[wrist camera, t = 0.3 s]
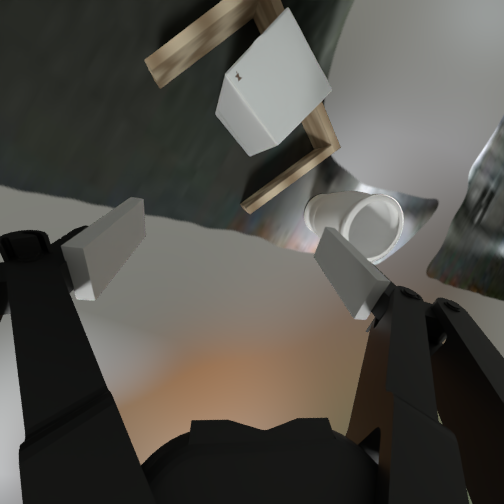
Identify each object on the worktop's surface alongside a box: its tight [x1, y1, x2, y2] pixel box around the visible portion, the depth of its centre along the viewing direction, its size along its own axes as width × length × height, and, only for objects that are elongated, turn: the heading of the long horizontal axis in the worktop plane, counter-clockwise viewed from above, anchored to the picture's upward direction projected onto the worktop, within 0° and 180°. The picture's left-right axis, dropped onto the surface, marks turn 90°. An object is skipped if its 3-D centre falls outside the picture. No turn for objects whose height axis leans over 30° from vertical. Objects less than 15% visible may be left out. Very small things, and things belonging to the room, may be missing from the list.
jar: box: [304, 191, 404, 262], centre depth 38 cm, size 11×10×15 cm
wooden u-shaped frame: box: [145, 0, 341, 214], centre depth 33 cm, size 19×24×6 cm
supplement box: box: [215, 7, 332, 156], centre depth 29 cm, size 9×9×15 cm
